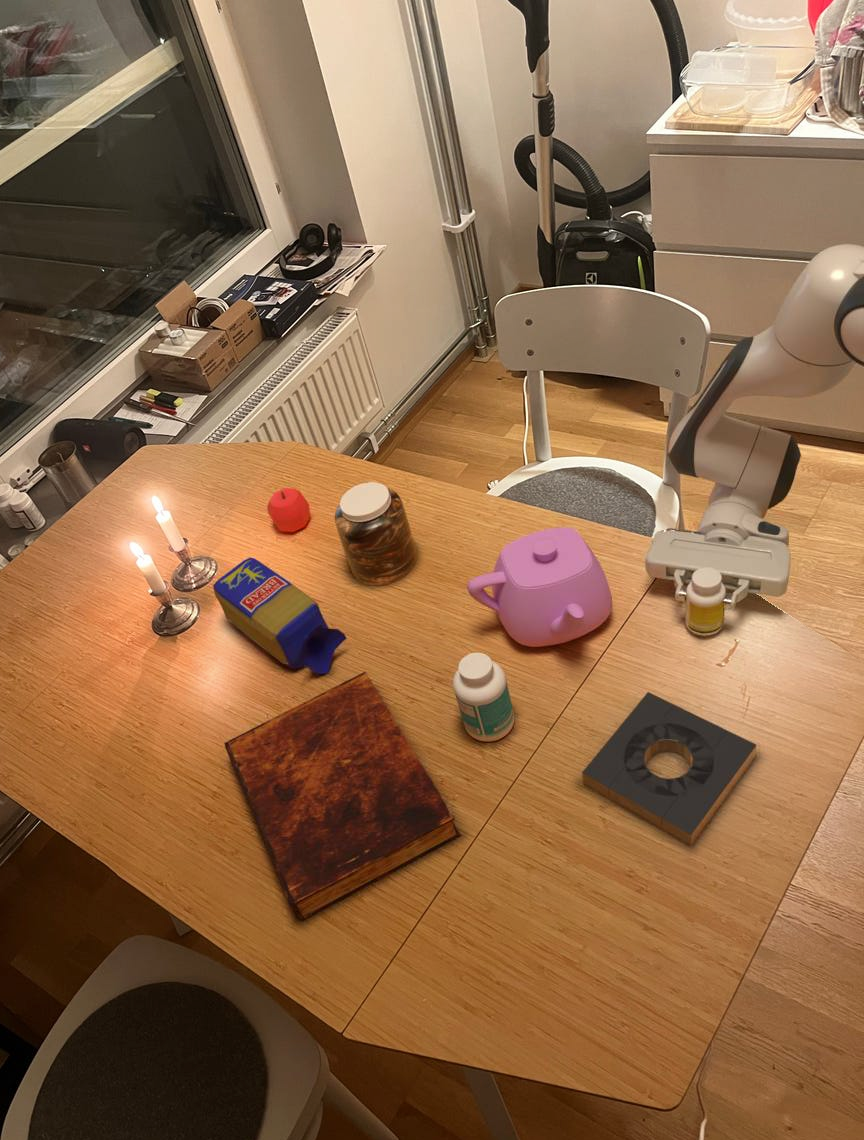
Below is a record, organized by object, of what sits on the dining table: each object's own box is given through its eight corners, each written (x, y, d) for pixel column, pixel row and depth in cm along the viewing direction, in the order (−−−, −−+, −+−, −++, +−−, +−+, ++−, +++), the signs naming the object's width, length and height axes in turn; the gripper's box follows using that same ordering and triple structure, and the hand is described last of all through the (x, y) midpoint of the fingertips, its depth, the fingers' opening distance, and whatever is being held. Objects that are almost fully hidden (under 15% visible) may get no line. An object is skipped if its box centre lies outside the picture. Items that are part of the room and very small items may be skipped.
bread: (268, 588, 164) (249, 547, 156) (355, 652, 149) (339, 610, 141) (224, 622, 160) (202, 582, 153) (309, 692, 146) (289, 650, 138)
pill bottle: (516, 702, 135) (505, 644, 125) (513, 744, 130) (500, 686, 121) (467, 702, 137) (451, 644, 127) (461, 743, 132) (445, 687, 123)
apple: (314, 506, 176) (302, 473, 170) (314, 533, 171) (302, 501, 165) (275, 514, 177) (261, 482, 171) (273, 542, 172) (260, 510, 166)
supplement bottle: (730, 630, 134) (733, 584, 127) (693, 641, 134) (695, 595, 127) (714, 605, 137) (717, 559, 130) (679, 615, 138) (680, 569, 131)
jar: (365, 537, 167) (344, 473, 156) (425, 541, 162) (408, 476, 151) (343, 584, 160) (319, 520, 149) (404, 589, 156) (385, 525, 145)
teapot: (464, 601, 151) (449, 534, 140) (587, 563, 150) (581, 493, 139) (504, 705, 135) (490, 639, 124) (641, 663, 135) (639, 593, 124)
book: (234, 761, 140) (223, 743, 136) (374, 690, 143) (366, 670, 139) (301, 922, 120) (289, 905, 116) (461, 836, 123) (455, 817, 119)
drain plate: (755, 757, 121) (756, 744, 118) (690, 846, 115) (691, 834, 112) (648, 704, 130) (648, 691, 127) (583, 784, 124) (581, 772, 121)
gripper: (657, 512, 141) (631, 575, 134) (800, 530, 132) (780, 599, 124) (657, 542, 145) (633, 604, 138) (796, 561, 136) (777, 629, 129)
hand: (704, 602), depth 131 cm, fingers closed on supplement bottle, 5 cm apart
